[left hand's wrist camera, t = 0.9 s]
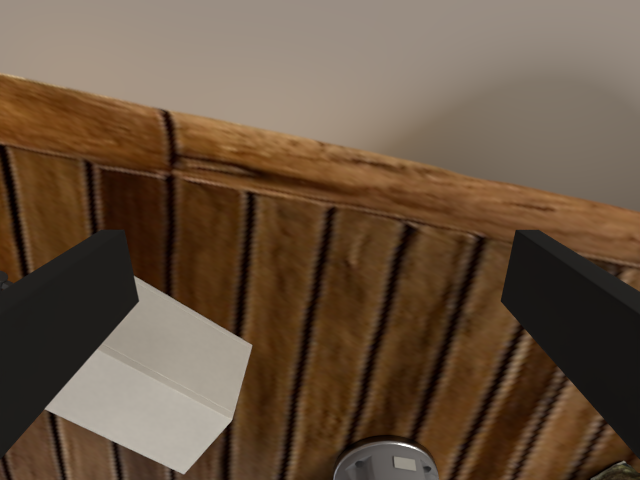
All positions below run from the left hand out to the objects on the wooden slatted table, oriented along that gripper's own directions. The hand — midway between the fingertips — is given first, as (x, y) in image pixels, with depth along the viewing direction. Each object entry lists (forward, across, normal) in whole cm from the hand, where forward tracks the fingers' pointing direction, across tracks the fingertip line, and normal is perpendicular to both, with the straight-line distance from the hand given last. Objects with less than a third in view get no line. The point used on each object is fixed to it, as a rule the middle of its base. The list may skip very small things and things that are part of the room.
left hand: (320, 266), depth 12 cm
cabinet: (+26, +19, +22) cm, 39 cm away
